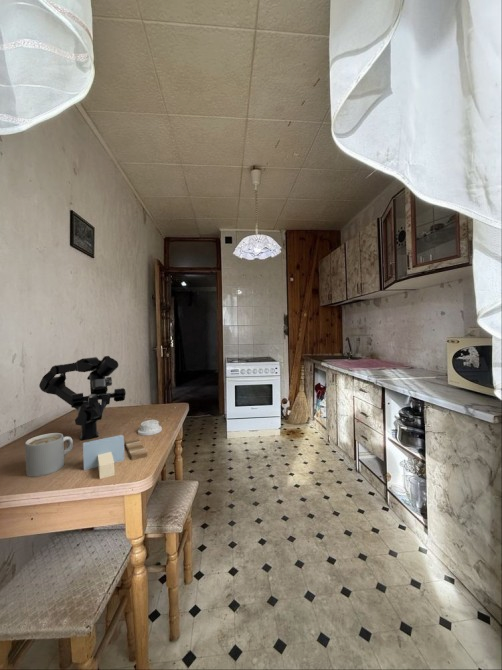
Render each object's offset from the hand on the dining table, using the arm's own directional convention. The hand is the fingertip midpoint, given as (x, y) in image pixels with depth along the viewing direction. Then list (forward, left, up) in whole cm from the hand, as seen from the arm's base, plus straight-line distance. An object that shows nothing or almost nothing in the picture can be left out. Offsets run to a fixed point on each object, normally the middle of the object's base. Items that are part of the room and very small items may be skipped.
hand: (100, 416), depth 102 cm
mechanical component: (-8, +19, -13) cm, 25 cm away
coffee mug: (+5, -15, -13) cm, 20 cm away
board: (+8, +11, -13) cm, 18 cm away
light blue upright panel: (+18, 0, -13) cm, 22 cm away
